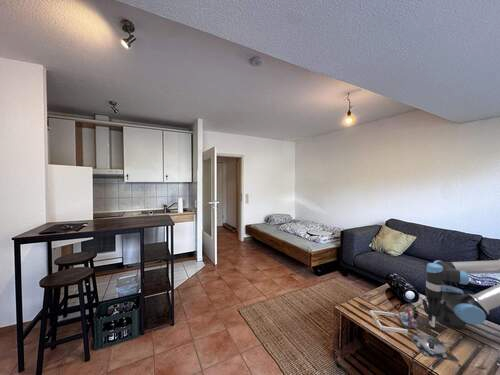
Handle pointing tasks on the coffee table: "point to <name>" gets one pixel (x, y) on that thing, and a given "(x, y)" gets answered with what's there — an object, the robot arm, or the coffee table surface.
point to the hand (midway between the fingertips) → (431, 325)
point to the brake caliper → (407, 319)
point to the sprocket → (432, 345)
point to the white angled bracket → (373, 314)
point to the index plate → (426, 354)
